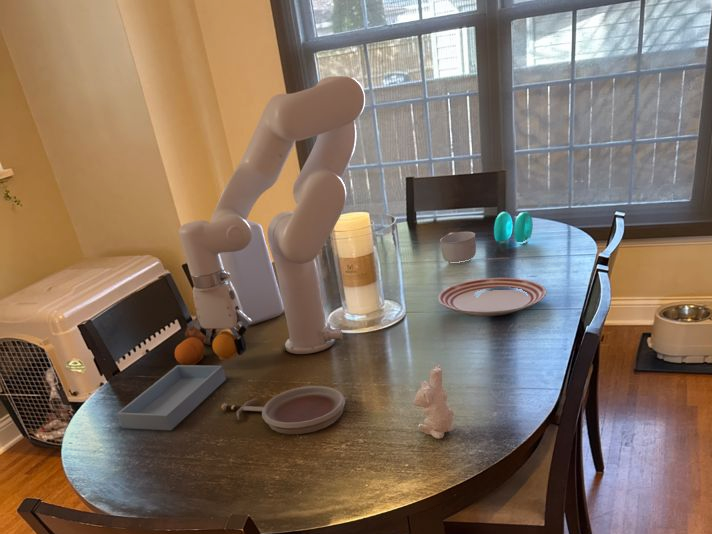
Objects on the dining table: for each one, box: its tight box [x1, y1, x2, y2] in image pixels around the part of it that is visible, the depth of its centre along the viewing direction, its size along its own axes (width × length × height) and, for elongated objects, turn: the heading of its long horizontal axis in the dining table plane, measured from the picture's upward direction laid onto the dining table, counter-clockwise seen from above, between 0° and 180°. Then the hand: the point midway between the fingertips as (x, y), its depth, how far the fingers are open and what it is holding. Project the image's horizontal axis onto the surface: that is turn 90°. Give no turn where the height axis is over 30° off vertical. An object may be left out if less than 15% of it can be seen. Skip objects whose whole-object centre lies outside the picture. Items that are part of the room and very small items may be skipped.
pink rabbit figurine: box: [412, 365, 455, 440], centre depth 118 cm, size 8×7×12 cm
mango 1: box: [174, 337, 205, 365], centre depth 167 cm, size 6×9×6 cm, turn 162°
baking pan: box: [116, 364, 227, 431], centre depth 148 cm, size 12×24×4 cm, turn 162°
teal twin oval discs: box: [493, 211, 534, 246], centre depth 216 cm, size 10×10×10 cm
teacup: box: [439, 231, 477, 266], centre depth 209 cm, size 14×11×8 cm
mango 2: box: [212, 328, 238, 361], centre depth 160 cm, size 6×9×6 cm, turn 162°
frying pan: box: [220, 385, 346, 435], centre depth 136 cm, size 17×3×28 cm
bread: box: [184, 325, 229, 346], centre depth 176 cm, size 6×19×6 cm, turn 47°
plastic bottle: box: [220, 219, 284, 327], centre depth 185 cm, size 15×15×28 cm
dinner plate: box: [437, 277, 547, 317], centre depth 173 cm, size 27×27×3 cm
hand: (230, 352), depth 161 cm, fingers closed on mango 2, 5 cm apart
